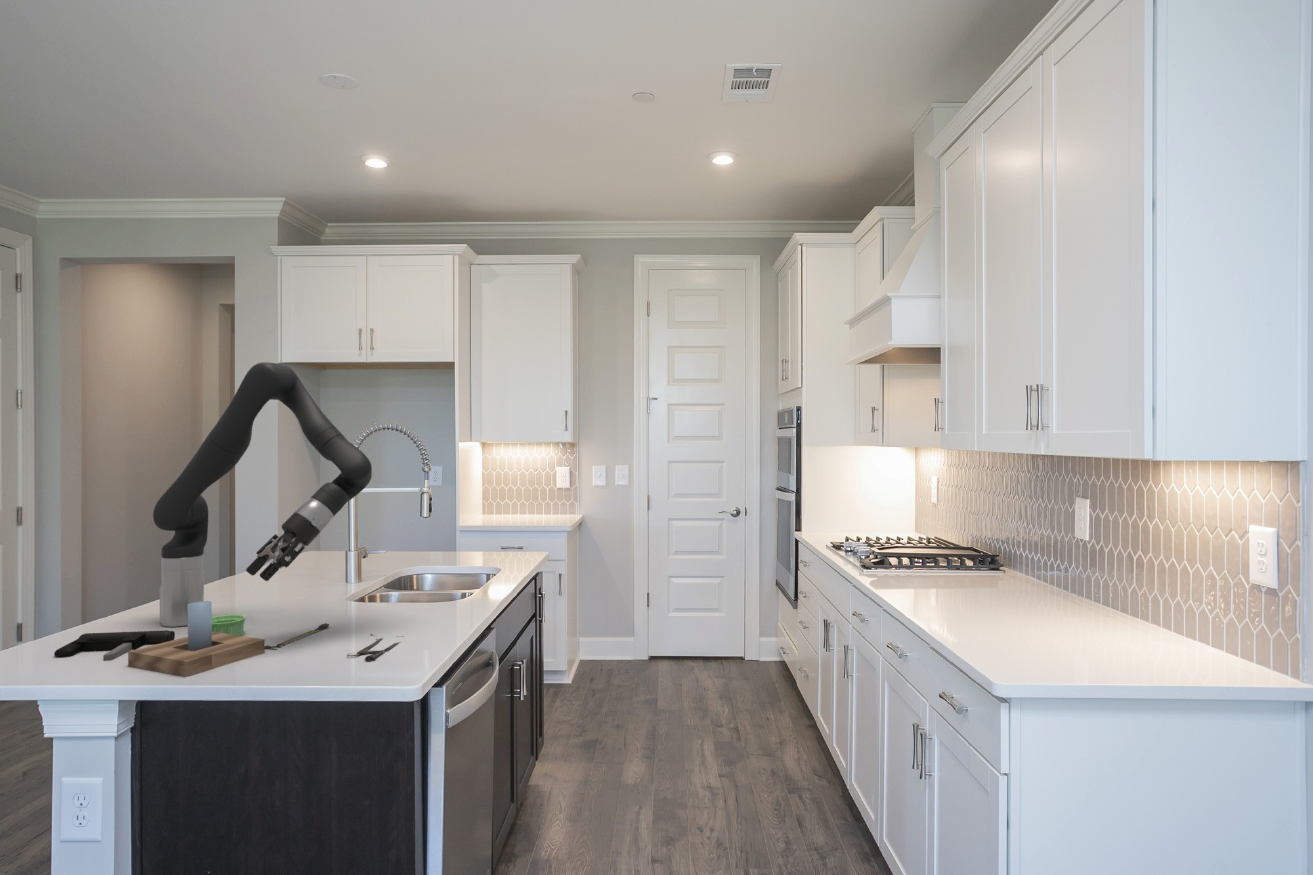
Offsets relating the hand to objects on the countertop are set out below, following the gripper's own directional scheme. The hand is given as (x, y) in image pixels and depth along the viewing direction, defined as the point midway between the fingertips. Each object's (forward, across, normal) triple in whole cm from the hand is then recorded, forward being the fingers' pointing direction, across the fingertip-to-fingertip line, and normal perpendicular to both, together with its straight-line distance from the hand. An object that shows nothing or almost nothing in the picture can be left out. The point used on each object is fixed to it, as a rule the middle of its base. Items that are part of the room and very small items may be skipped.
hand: (255, 575), depth 171 cm
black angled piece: (+28, -21, -3) cm, 36 cm away
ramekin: (+13, -16, +11) cm, 23 cm away
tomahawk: (+4, 0, +20) cm, 20 cm away
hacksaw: (-2, +18, +25) cm, 31 cm away
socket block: (+20, 0, +4) cm, 20 cm away
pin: (+20, 0, +4) cm, 20 cm away
